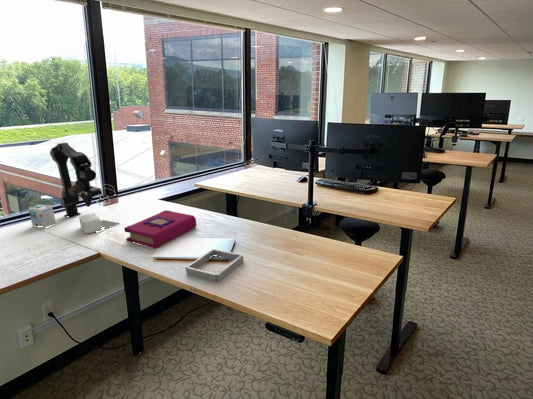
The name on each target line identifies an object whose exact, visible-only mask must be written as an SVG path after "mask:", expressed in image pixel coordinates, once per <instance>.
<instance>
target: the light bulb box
mask: <svg viewBox="0 0 533 399" xmlns="http://www.w3.org/2000/svg"><path fill="white" fill-rule="evenodd" d="M53 208H54V207H53V205H44V204H37V205H34V206H31V207H29V208H28V212H29V216H30V220H31V221H30V222H31V225H32V227H33V226H34V225H35V226H43V227H47V226H50V225H53V224H56V225H57V221H56V217H55V212H54V209H53Z"/></svg>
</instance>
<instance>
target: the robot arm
mask: <svg viewBox="0 0 533 399" xmlns="http://www.w3.org/2000/svg"><path fill="white" fill-rule="evenodd" d="M49 154H50V157H51V158H52V160H53V161H54V163H56V165H57V169H58V173H59V177H60V182H61V186H62V191H61V194H60V195H61V198H60V207H62V208H63V209H64V210H65V213H66V214H63V215H64V216H63V217H66V216H69V217H68V218H74V217H77V216H78V215H79V216H80V215H81V214H82V213H81V212H79V211H78V207H77V206H78V205H79V204H80V198H82V200H83V202H84V203H85V205H86V207H91V204H92V200H93V198H94V197H97V196H100V195H103V192H102V189H101V188H96V187H95V188H93V186H92V185H91V182H92V181H94V180H95V179H96V178H97V173H96V171H95V170H93V169H92V162H91V160H90V159H89V157H88V156H87V155H86V154H85V153H84V152H82V151H77V150H76V149H74V148H73V147H71V145H69V143H68V142H62V143H61V142H60V143H57V144H56V145H55V146H54V147H52V148H51V149H50V151H49ZM68 161H70V164H71V165H72V167H73V169H74V171H75V178H76V180H75V181H74V183H75V184H72V181H71V176H70V172H69V167H68ZM76 215H77V216H76ZM73 216H74V217H73Z"/></svg>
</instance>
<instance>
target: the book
mask: <svg viewBox="0 0 533 399" xmlns="http://www.w3.org/2000/svg"><path fill="white" fill-rule="evenodd" d="M196 219H197V218H196V217H195V216H194V215H192V214H187V213H182V212H176V211H172V210H168V209H167V210H163V211H161V212H159V213H157V214H154V215H152V216H149V217H148V218H145V219H143V220H141V221H140V220H139V221H138V222H135V223H133V224H131V225H127V226H125V227H124V228H123V229H124V232H125V233H128V234H129V235H130V236H129V237H127V238H126V240H127V241H130V242H135V243H139V244H142V245H146V246H149V247H148V248H150V247H153V248H152V249H154V248H155V249H157V248H159V247H161V246H162V244H163V245H165V244H166V242H167V243H168V241H169V242H170V240H171V241H172V240H174V239H176V238H178V237H180V236H181V235H184V234H186V233H187V232H190V231H192V230H193V229H196V227H197V220H196ZM126 240H125V241H126ZM127 241H126V242H127ZM130 242H129V243H130ZM135 243H134V244H135ZM164 243H165V244H164ZM142 245H141V246H142ZM160 245H161V246H160ZM146 246H145V247H146ZM156 247H157V248H156Z"/></svg>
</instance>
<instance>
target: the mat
mask: <svg viewBox="0 0 533 399" xmlns="http://www.w3.org/2000/svg"><path fill="white" fill-rule="evenodd" d="M100 223H101V226H102V227H105V228H104V229H106V230H108V229H110V228H109V227H110V226H111V228H113V227H115V226H117V225H116V224H118V225H119V224H120V222H115V221H110V220H106V219H105V220H104V219H102V220H100ZM114 225H115V226H114ZM112 226H113V227H112ZM102 227H101V228H102ZM107 228H108V229H107Z"/></svg>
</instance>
